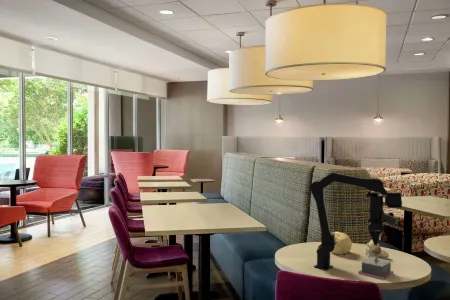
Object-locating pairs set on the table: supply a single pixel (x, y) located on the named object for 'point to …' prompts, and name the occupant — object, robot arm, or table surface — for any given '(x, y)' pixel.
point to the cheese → (369, 253)
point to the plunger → (376, 252)
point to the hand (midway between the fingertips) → (375, 242)
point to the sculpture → (342, 243)
